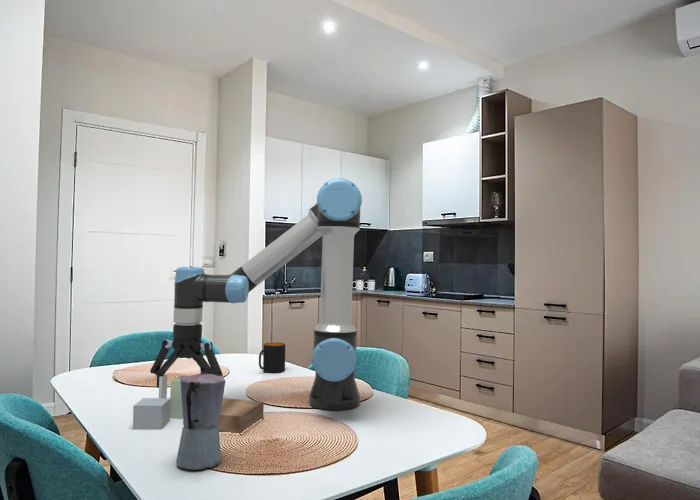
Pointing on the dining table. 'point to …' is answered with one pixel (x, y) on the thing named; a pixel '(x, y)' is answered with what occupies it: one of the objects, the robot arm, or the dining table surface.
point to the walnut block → (239, 414)
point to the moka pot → (200, 420)
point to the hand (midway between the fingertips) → (185, 402)
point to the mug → (273, 358)
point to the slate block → (151, 413)
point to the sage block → (176, 399)
